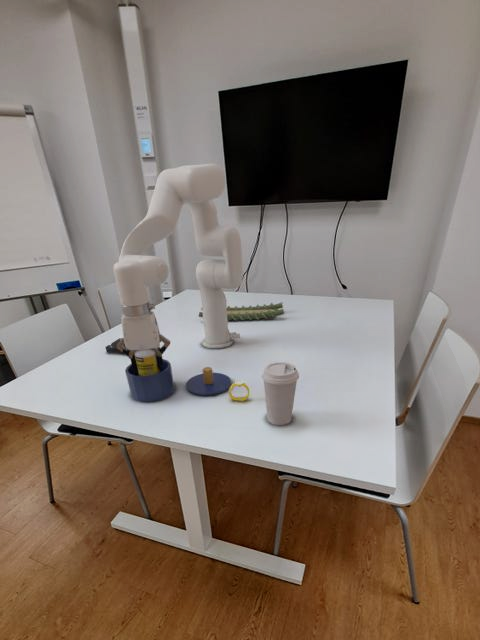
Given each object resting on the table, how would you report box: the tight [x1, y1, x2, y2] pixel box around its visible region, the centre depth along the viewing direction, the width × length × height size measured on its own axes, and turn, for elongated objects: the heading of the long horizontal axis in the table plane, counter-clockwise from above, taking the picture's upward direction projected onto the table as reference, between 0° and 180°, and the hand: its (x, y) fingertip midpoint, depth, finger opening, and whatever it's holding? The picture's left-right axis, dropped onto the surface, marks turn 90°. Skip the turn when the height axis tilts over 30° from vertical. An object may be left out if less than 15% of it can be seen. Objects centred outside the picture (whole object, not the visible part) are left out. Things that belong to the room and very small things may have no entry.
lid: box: [185, 366, 232, 396], centre depth 114 cm, size 15×15×6 cm
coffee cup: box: [260, 361, 300, 426], centre depth 93 cm, size 10×10×15 cm
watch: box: [228, 379, 250, 402], centre depth 105 cm, size 6×3×6 cm, turn 84°
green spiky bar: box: [198, 302, 285, 322], centre depth 172 cm, size 41×14×5 cm, turn 88°
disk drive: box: [105, 337, 126, 355], centre depth 144 cm, size 10×3×15 cm
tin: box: [124, 358, 175, 403], centre depth 112 cm, size 14×14×8 cm
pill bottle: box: [134, 344, 160, 376], centre depth 108 cm, size 6×6×12 cm
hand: (148, 367), depth 110 cm, fingers closed on pill bottle, 6 cm apart
